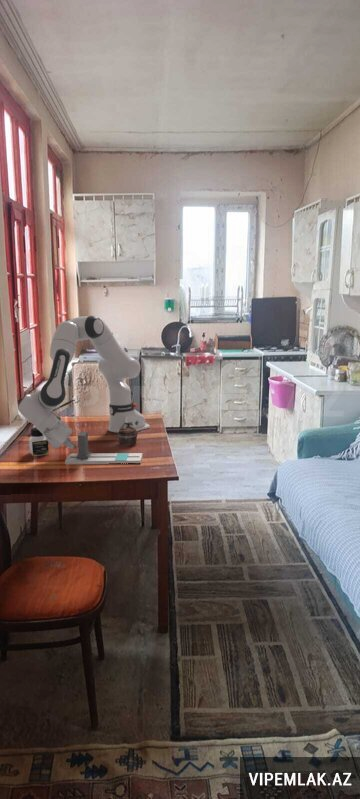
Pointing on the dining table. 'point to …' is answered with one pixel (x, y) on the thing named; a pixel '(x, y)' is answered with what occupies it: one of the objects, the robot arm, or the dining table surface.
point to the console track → (106, 458)
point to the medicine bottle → (38, 443)
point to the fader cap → (83, 446)
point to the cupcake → (127, 434)
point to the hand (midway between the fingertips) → (73, 447)
